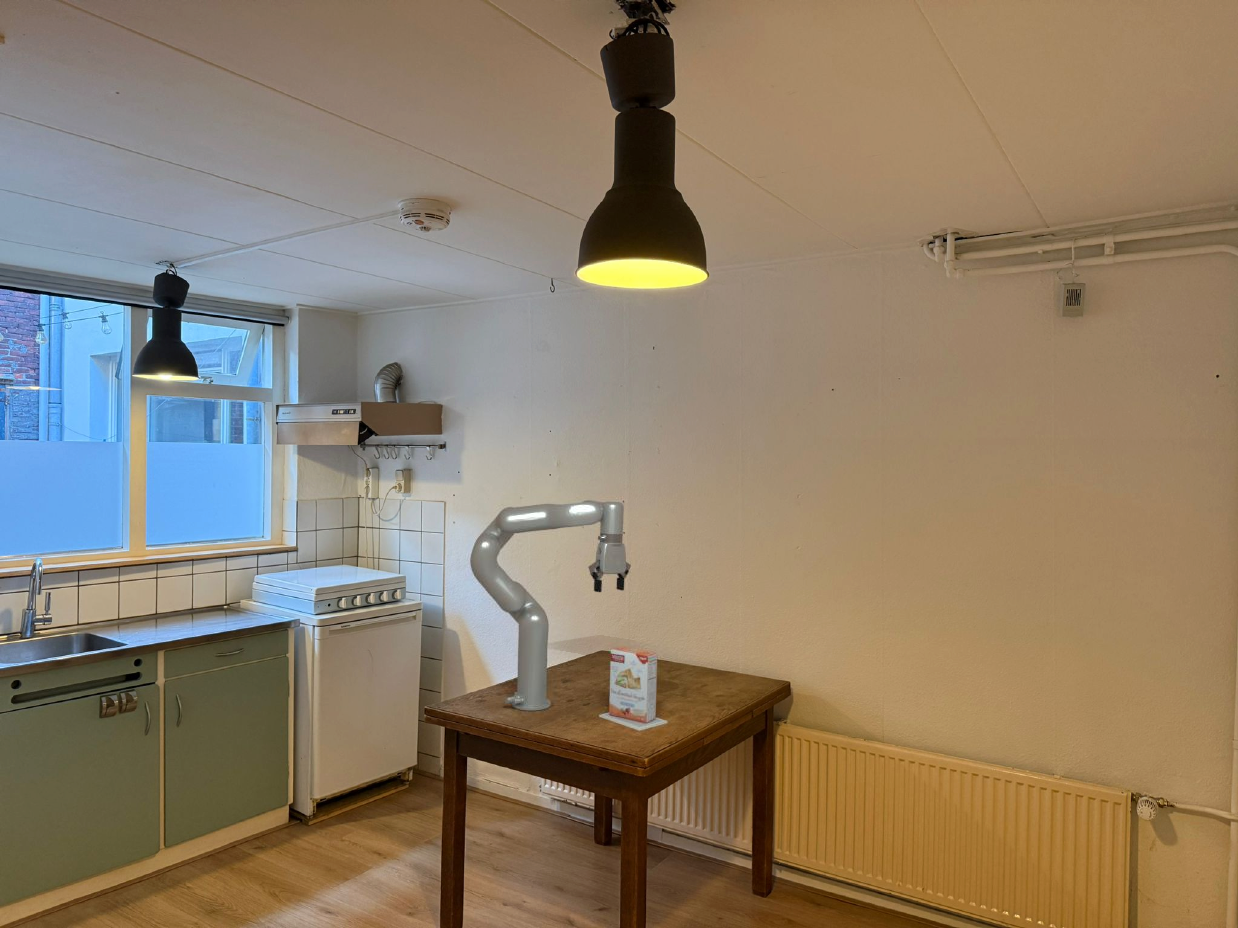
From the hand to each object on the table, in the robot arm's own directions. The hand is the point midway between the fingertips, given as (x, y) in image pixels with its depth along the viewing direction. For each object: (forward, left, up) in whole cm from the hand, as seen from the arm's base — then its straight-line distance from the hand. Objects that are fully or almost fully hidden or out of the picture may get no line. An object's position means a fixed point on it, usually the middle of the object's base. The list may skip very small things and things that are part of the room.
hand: (609, 590), depth 273 cm
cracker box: (-5, -18, -37) cm, 41 cm away
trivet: (-5, -18, -38) cm, 42 cm away
